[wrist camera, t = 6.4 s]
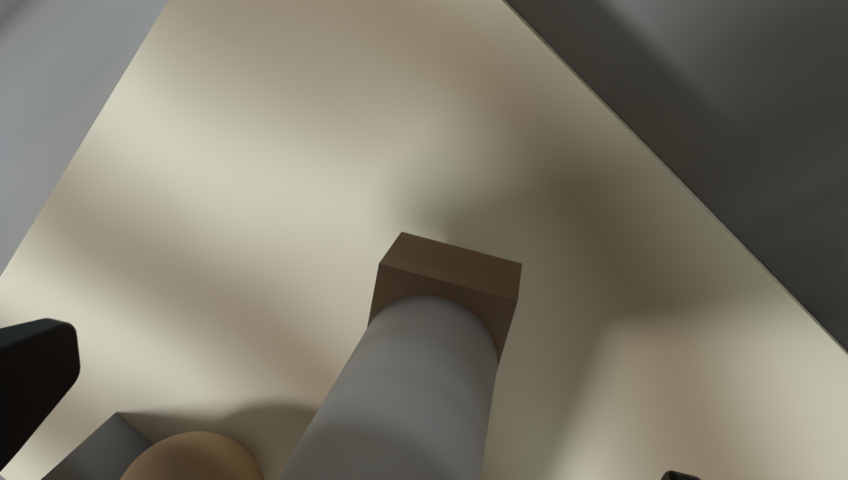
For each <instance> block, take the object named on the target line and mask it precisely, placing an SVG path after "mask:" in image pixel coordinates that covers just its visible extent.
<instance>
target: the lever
mask: <svg viewBox="0 0 848 480" xmlns="http://www.w3.org/2000/svg"><path fill="white" fill-rule="evenodd" d="M521 270H522V263H518V262H514V261H510V260H507V259H503V258H499V257H495V256H492V255H488V254H484V253H480V252H477V251H473V250H469V249H465V248H462V247H458V246H454V245H450V244H446V243H443V242H439V241H435V240H431V239H428V238H424V237H420V236H416V235H413V234H409V233H405V232H401V233H400V234H399V236H398V237H397V239H396V240H395V241H394V243H393V244H392V246H391V247H390V248H389V250H388V251H387V253H386V254H385V255H384V257H383V258H382V260H381V261H380V262H379V265H378V271H377V276H376V282H375V287H374V293H373V298H372V303H371V309H370V314H369V320H368V325H367V329H366V331H365V333H364V334H363V336H362V338H361V339H360V341H359V343H358V344H357V346H356V348H355V349H354V351H353V353H352V355H351V356H350V358H349V360H348V361H347V363H346V365H345V366H344V368H343V370H342V371H341V373H340V375H339V376H338V378H337V380H336V381H335V383H334V385H333V386H332V388H331V390H330V391H329V393H328V395H327V396H326V398H325V400H324V401H323V403H322V405H321V406H320V408H319V410H318V411H317V413H316V415H315V416H314V418H313V420H312V421H311V423H310V425H309V426H308V428H307V430H306V431H305V433H304V435H303V436H302V438H301V440H300V441H299V443H298V445H297V446H296V448H295V450H294V451H293V453H292V455H291V456H290V458H289V460H288V461H287V463H286V465H285V466H284V468H283V470H282V471H281V473H280V475H279V477H278V478H277V480H480V474H481V468H482V462H483V455H484V449H485V443H486V436H487V430H488V423H489V417H490V411H491V404H492V398H493V392H494V385H495V379H496V372H497V369H498V366H499V362H500V359H501V356H502V352H503V349H504V346H505V342H506V339H507V336H508V332H509V329H510V325H511V322H512V319H513V315H514V312H515V309H516V305H517V302H518V295H519V286H520V278H521Z"/></svg>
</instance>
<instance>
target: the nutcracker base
mask: <svg viewBox="0 0 848 480" xmlns="http://www.w3.org/2000/svg"><path fill="white" fill-rule="evenodd" d="M401 232H405V233H409V234H413V235H416V236H420V237H424V238H428V239H431V240H435V241H439V242H443V243H446V244H450V245H454V246H458V247H462V248H465V249H469V250H473V251H477V252H480V253H484V254H488V255H492V256H495V257H499V258H503V259H507V260H510V261H514V262H518V263H522V270H521V278H520V286H519V295H518V302H517V305H516V309H515V312H514V315H513V319H512V322H511V325H510V329H509V332H508V336H507V339H506V342H505V346H504V349H503V352H502V356H501V359H500V362H499V366H498V369H497V372H496V379H495V385H494V392H493V398H492V404H491V411H490V417H489V423H488V430H487V436H486V443H485V449H484V455H483V462H482V468H481V474H480V480H661V478H662V476H663V475H664V473H665V472H667V471H669V470H673V471H677V472H681V473H685V474H690V475H694V476H696V477H698V478H700V479H701V480H848V352H847V351H846V350H845V349H844V348H843V347H842V346H841V345H840V344H839V343H838V342H837V340H836V339H835V338H834V337H833V336H832V335H831V334H830V333H829V332H828V331H827V330H826V329H825V328H824V327H823V326H822V325H821V324H820V323H819V322H818V321H817V320H816V319H815V318H814V317H813V316H812V315H811V314H810V313H809V312H808V311H807V310H806V309H805V308H804V307H803V306H802V305H801V303H800V302H799V301H798V300H797V299H796V298H795V297H794V296H793V295H792V294H791V293H790V292H789V291H788V290H787V289H786V288H785V287H784V286H783V285H782V284H781V283H780V282H779V281H778V280H777V279H776V278H775V277H774V276H773V275H772V274H771V273H770V272H769V271H768V270H767V269H766V268H765V267H764V265H763V264H762V263H761V262H760V261H759V260H758V259H757V258H756V257H755V256H754V255H753V254H752V253H751V252H750V251H749V250H748V249H747V248H746V247H745V246H744V245H743V244H742V243H741V242H740V241H739V240H738V239H737V238H736V237H735V236H734V235H733V234H732V233H731V232H730V231H729V230H728V228H727V227H726V226H725V225H724V224H723V223H722V222H721V221H720V220H719V219H718V218H717V217H716V216H715V215H714V214H713V213H712V212H711V211H710V210H709V209H708V208H707V207H706V206H705V205H704V204H703V203H702V202H701V201H700V200H699V199H698V198H697V197H696V196H695V195H694V194H693V193H692V191H691V190H690V189H689V188H688V187H687V186H686V185H685V184H684V183H683V182H682V181H681V180H680V179H679V178H678V177H677V176H676V175H675V174H674V173H673V172H672V171H671V170H670V169H669V168H668V167H667V166H666V165H665V164H664V163H663V162H662V161H661V160H660V159H659V158H658V157H657V156H656V155H655V153H654V152H653V151H652V150H651V149H650V148H649V147H648V146H647V145H646V144H645V143H644V142H643V141H642V140H641V139H640V138H639V137H638V136H637V135H636V134H635V133H634V132H633V131H632V130H631V129H630V128H629V127H628V126H627V125H626V124H625V123H624V122H623V121H622V120H621V119H620V118H619V116H618V115H617V114H616V113H615V112H614V111H613V110H612V109H611V108H610V107H609V106H608V105H607V104H606V103H605V102H604V101H603V100H602V99H601V98H600V97H599V96H598V95H597V94H596V93H595V92H594V91H593V90H592V89H591V88H590V87H589V86H588V85H587V84H586V83H585V82H584V81H583V79H582V78H581V77H580V76H579V75H578V74H577V73H576V72H575V71H574V70H573V69H572V68H571V67H570V66H569V65H568V64H567V63H566V62H565V61H564V60H563V59H562V58H561V57H560V56H559V55H558V54H557V53H556V52H555V51H554V50H553V49H552V48H551V47H550V46H549V45H548V44H547V43H546V41H545V40H544V39H543V38H542V37H541V36H540V35H539V34H538V33H537V32H536V31H535V30H534V29H533V28H532V27H531V26H530V25H529V24H528V23H527V22H526V21H525V20H524V19H523V18H522V17H521V16H520V15H519V14H518V13H517V12H516V11H515V10H514V9H513V8H512V7H511V6H510V4H509V3H508V2H507V1H506V0H168V2H167V4H166V5H165V7H164V8H163V10H162V12H161V13H160V15H159V17H158V18H157V20H156V22H155V23H154V25H153V27H152V28H151V30H150V32H149V33H148V35H147V36H146V38H145V40H144V41H143V43H142V45H141V46H140V48H139V50H138V51H137V53H136V55H135V56H134V58H133V60H132V61H131V63H130V64H129V66H128V68H127V69H126V71H125V73H124V74H123V76H122V78H121V79H120V81H119V83H118V84H117V86H116V87H115V89H114V91H113V92H112V94H111V96H110V97H109V99H108V101H107V102H106V104H105V106H104V107H103V109H102V111H101V112H100V114H99V115H98V117H97V119H96V120H95V122H94V124H93V125H92V127H91V129H90V130H89V132H88V134H87V135H86V137H85V139H84V140H83V142H82V143H81V145H80V147H79V148H78V150H77V152H76V153H75V155H74V157H73V158H72V160H71V162H70V163H69V165H68V167H67V168H66V170H65V171H64V173H63V175H62V176H61V178H60V180H59V181H58V183H57V185H56V186H55V188H54V190H53V191H52V193H51V195H50V196H49V198H48V199H47V201H46V203H45V204H44V206H43V208H42V209H41V211H40V213H39V214H38V216H37V218H36V219H35V221H34V223H33V224H32V226H31V227H30V229H29V231H28V232H27V234H26V236H25V237H24V239H23V241H22V242H21V244H20V246H19V247H18V249H17V251H16V252H15V254H14V255H13V257H12V259H11V260H10V262H9V264H8V265H7V267H6V269H5V270H4V272H3V274H2V275H1V277H0V328H3V327H8V326H12V325H17V324H21V323H25V322H30V321H34V320H38V319H43V318H52V319H56V320H60V321H64V322H68V323H70V324H72V325H73V326H74V327H75V329H76V332H77V338H78V347H79V356H80V364H81V369H80V374H79V377H78V379H77V381H76V382H75V384H74V385H73V386H72V387H71V389H70V390H69V391H68V392H67V393H66V395H65V396H64V397H63V398H62V400H61V401H60V402H59V403H58V404H57V406H56V407H55V408H54V409H53V410H52V412H51V413H50V414H49V415H48V417H47V418H46V419H45V420H44V421H43V423H42V424H41V425H40V426H39V427H38V429H37V430H36V431H35V432H34V433H33V435H32V436H31V437H30V438H29V440H28V441H27V442H26V443H25V444H24V446H23V447H22V448H21V449H20V450H19V452H18V453H17V454H16V455H15V456H14V457H13V459H12V460H11V461H10V462H9V463H8V464H7V465H6V466H5V468H4V469H3V470H2V471H1V472H0V475H1V476H2V477H3V478H5V479H6V480H277V478H278V477H279V475H280V473H281V471H282V470H283V468H284V466H285V465H286V463H287V461H288V460H289V458H290V456H291V455H292V453H293V451H294V450H295V448H296V446H297V445H298V443H299V441H300V440H301V438H302V436H303V435H304V433H305V431H306V430H307V428H308V426H309V425H310V423H311V421H312V420H313V418H314V416H315V415H316V413H317V411H318V410H319V408H320V406H321V405H322V403H323V401H324V400H325V398H326V396H327V395H328V393H329V391H330V390H331V388H332V386H333V385H334V383H335V381H336V380H337V378H338V376H339V375H340V373H341V371H342V370H343V368H344V366H345V365H346V363H347V361H348V360H349V358H350V356H351V355H352V353H353V351H354V349H355V348H356V346H357V344H358V343H359V341H360V339H361V338H362V336H363V334H364V333H365V331H366V329H367V325H368V320H369V314H370V309H371V303H372V298H373V293H374V287H375V282H376V276H377V271H378V265H379V262H380V261H381V260H382V258H383V257H384V255H385V254H386V253H387V251H388V250H389V248H390V247H391V246H392V244H393V243H394V241H395V240H396V239H397V237H398V236H399V234H400V233H401Z"/></svg>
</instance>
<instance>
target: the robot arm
mask: <svg viewBox="0 0 848 480" xmlns="http://www.w3.org/2000/svg"><path fill="white" fill-rule="evenodd" d="M80 369H81V364H80V356H79V347H78V338H77V332H76V329H75V327H74V326H73V325H72V324H70V323H68V322H64V321H60V320H56V319H52V318H43V319H38V320H34V321H30V322H25V323H21V324H17V325H12V326H8V327H3V328H0V472H1V471H2V470H3V469H4V468H5V466H6V465H7V464H8V463H9V462H10V461H11V460H12V459H13V457H14V456H15V455H16V454H17V453H18V452H19V450H20V449H21V448H22V447H23V446H24V444H25V443H26V442H27V441H28V440H29V438H30V437H31V436H32V435H33V433H34V432H35V431H36V430H37V429H38V427H39V426H40V425H41V424H42V423H43V421H44V420H45V419H46V418H47V417H48V415H49V414H50V413H51V412H52V410H53V409H54V408H55V407H56V406H57V404H58V403H59V402H60V401H61V400H62V398H63V397H64V396H65V395H66V393H67V392H68V391H69V390H70V389H71V387H72V386H73V385H74V384H75V382H76V381H77V379H78V377H79V374H80ZM661 480H701V479H700V478H698V477H696V476H694V475H690V474H685V473H681V472H677V471H673V470H669V471H667V472H665V473H664V475H663V476H662V478H661Z"/></svg>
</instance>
